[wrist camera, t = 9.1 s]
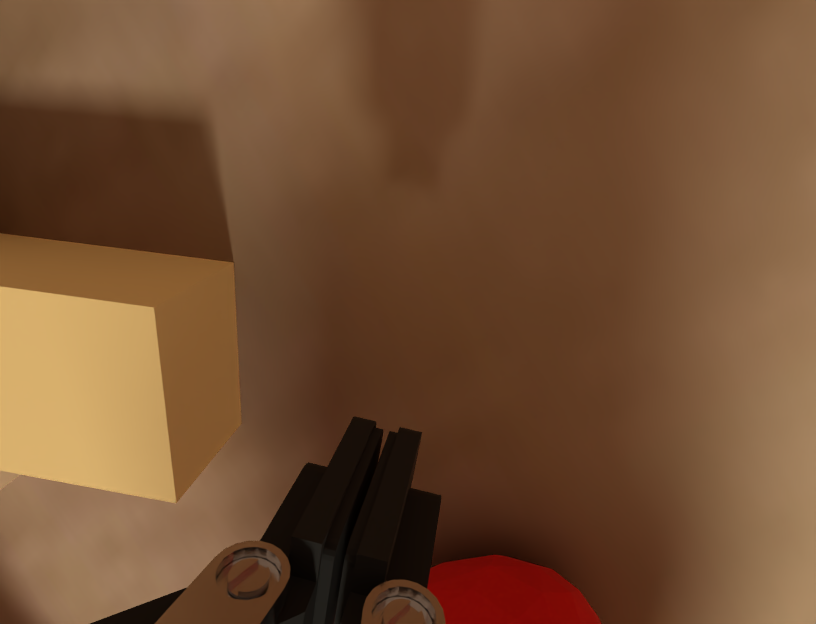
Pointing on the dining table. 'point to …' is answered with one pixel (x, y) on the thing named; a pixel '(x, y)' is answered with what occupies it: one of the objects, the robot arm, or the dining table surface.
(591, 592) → the dining table surface
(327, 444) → the dining table surface
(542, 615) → the tomato
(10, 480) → the pale grey bar
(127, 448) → the block
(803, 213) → the dining table surface
